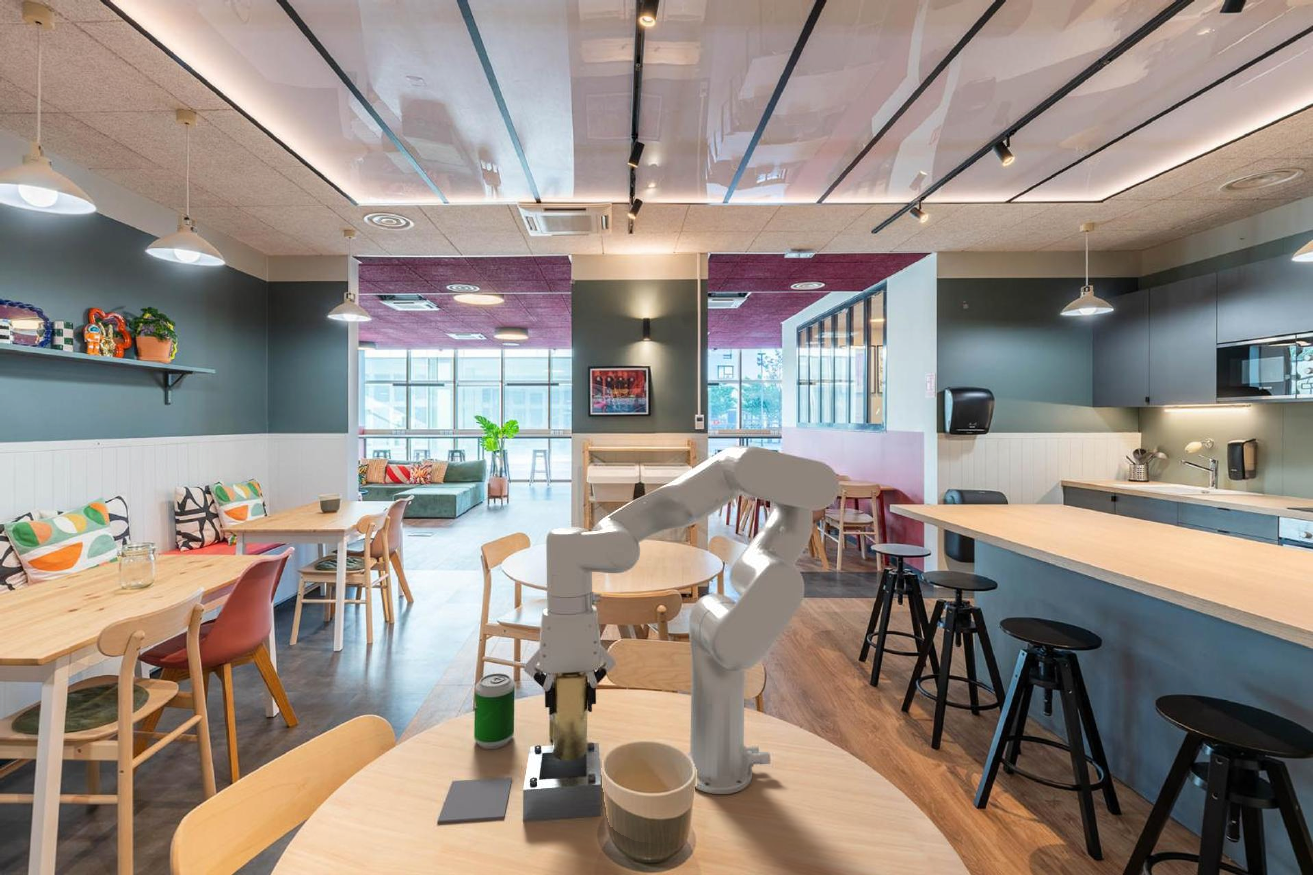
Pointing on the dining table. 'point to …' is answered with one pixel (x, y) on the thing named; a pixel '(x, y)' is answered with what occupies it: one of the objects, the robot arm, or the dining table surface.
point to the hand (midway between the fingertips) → (570, 708)
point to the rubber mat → (476, 800)
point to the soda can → (494, 710)
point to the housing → (561, 785)
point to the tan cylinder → (570, 715)
